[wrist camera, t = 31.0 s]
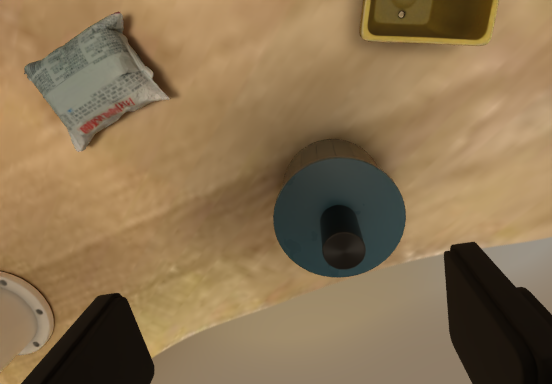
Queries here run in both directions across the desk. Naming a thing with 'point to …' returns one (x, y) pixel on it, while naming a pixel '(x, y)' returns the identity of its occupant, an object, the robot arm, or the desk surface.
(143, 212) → the desk surface
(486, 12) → the flower pot
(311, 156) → the pot
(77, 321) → the robot arm
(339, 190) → the pot lid
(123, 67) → the packaged food
